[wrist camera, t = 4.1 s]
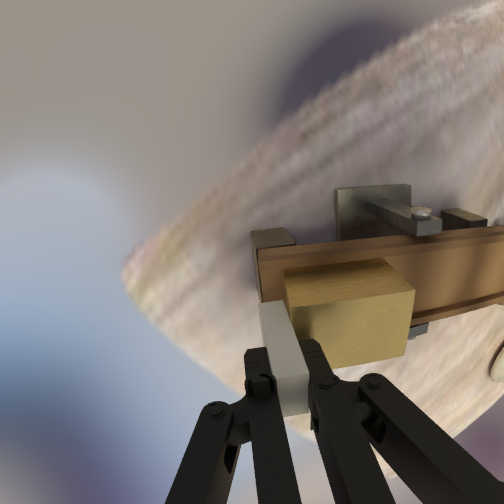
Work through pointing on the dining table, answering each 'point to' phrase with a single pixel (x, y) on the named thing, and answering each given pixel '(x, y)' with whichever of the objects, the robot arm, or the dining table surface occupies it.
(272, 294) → the beam
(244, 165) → the dining table surface
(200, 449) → the robot arm
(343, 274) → the block
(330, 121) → the dining table surface
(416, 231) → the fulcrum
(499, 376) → the flower in vase
